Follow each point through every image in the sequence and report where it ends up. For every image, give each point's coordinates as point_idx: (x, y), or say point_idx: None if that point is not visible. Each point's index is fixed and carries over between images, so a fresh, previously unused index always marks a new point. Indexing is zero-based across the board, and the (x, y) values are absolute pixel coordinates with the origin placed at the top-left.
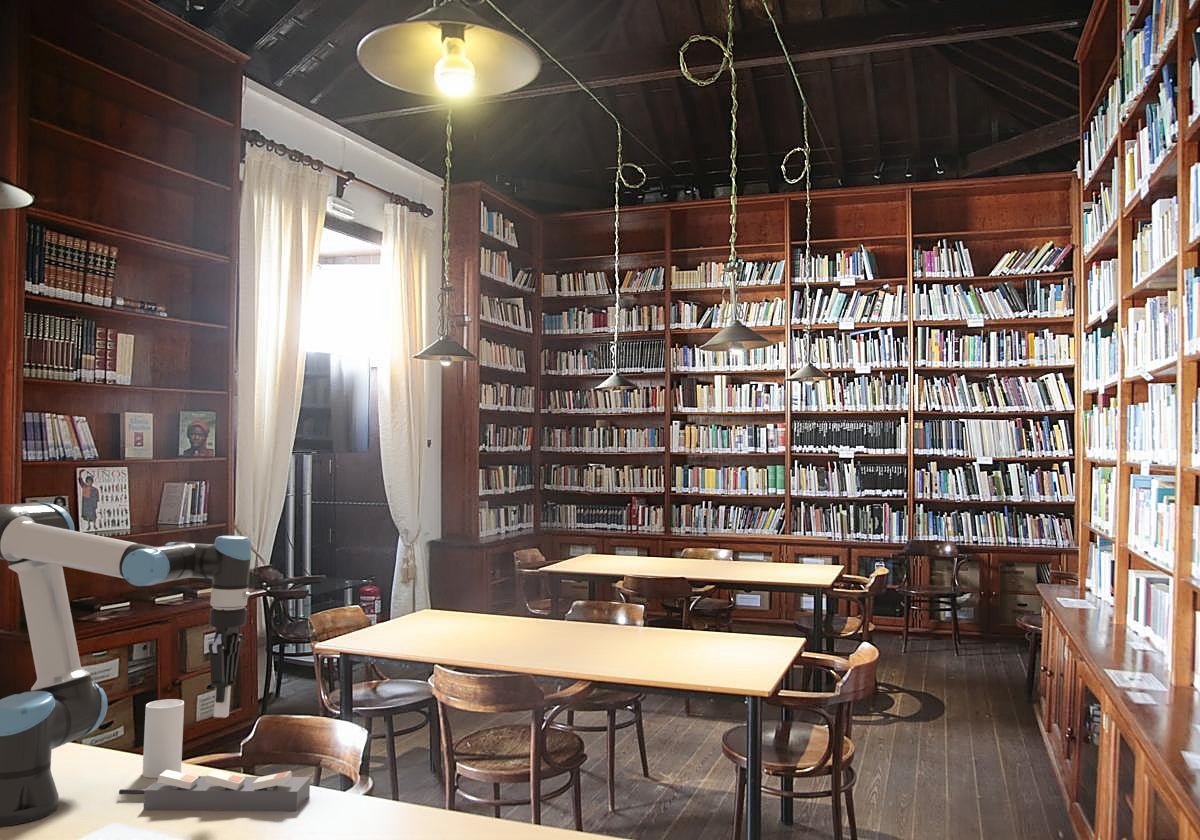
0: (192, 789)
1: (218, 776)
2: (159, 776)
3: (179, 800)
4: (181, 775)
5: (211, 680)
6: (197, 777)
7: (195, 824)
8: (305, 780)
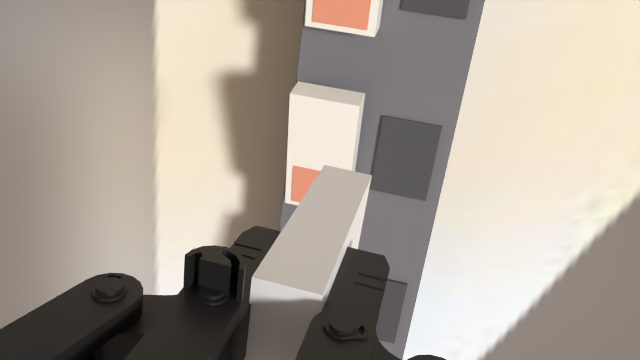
0: (314, 27)
1: (303, 132)
2: None
3: None
4: None
5: (49, 306)
6: (364, 34)
7: (199, 68)
8: None
